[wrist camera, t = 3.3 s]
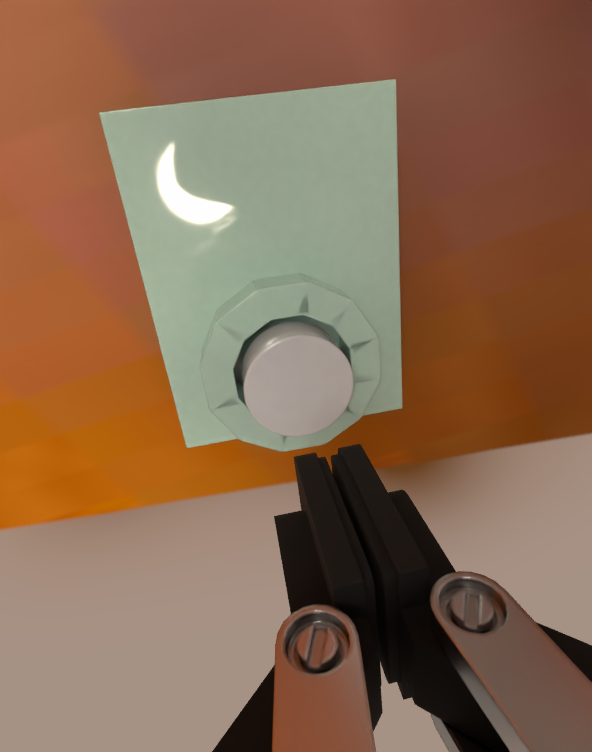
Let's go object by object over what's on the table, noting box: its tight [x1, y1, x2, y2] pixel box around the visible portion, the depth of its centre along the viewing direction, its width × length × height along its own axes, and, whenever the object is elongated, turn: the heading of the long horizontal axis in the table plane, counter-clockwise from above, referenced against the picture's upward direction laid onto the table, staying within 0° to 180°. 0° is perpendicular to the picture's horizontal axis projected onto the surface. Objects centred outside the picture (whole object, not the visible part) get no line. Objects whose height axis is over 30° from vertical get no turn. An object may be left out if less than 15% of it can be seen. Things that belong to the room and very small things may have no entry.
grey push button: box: [242, 322, 353, 437], centre depth 17 cm, size 4×4×2 cm
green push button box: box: [99, 79, 402, 452], centre depth 18 cm, size 13×10×5 cm
